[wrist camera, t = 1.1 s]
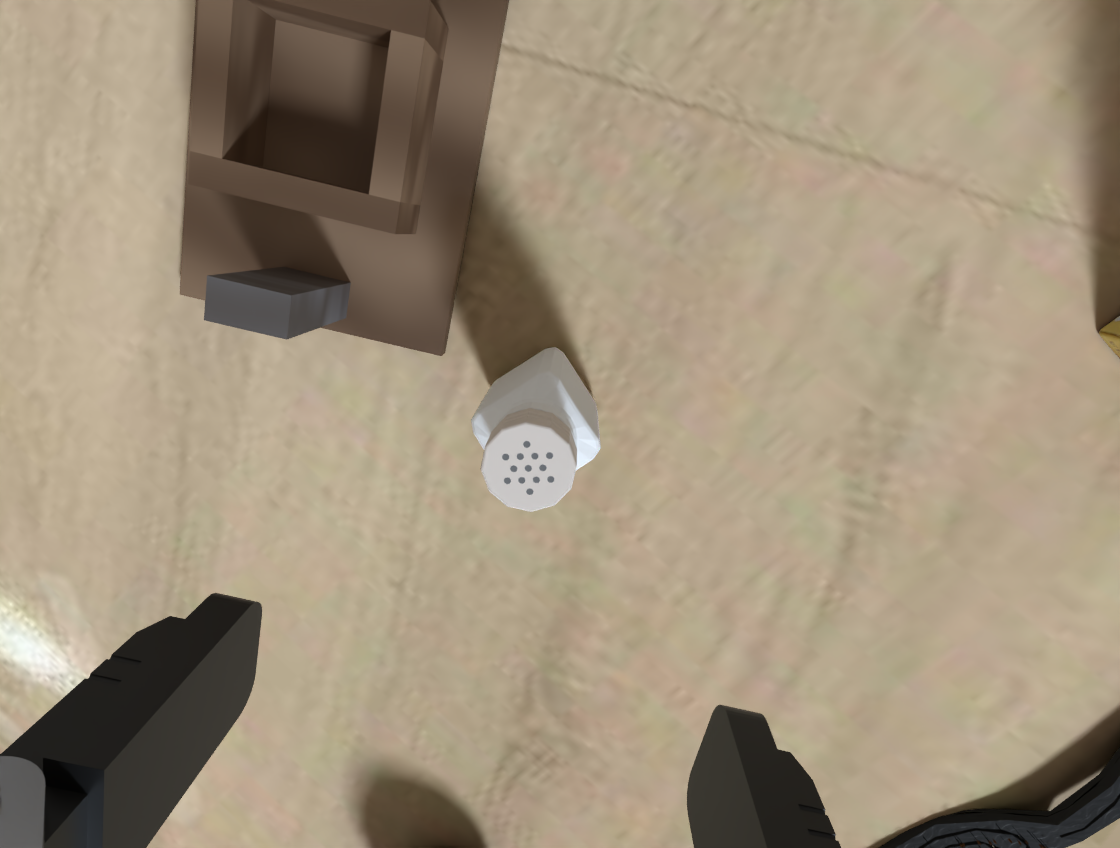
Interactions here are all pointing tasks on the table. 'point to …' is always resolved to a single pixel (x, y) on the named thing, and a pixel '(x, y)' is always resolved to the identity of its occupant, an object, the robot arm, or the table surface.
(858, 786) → the table surface
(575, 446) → the pepper shaker
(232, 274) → the shaker holder
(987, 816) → the hairbrush
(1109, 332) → the candy box
